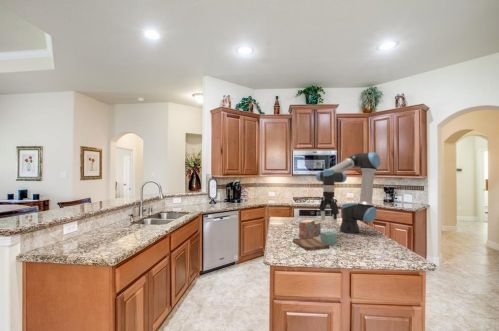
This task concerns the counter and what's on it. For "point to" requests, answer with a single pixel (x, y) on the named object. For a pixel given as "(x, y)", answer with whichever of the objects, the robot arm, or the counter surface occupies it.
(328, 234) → the cube
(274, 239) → the counter surface
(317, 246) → the board
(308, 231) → the stack of blocks
